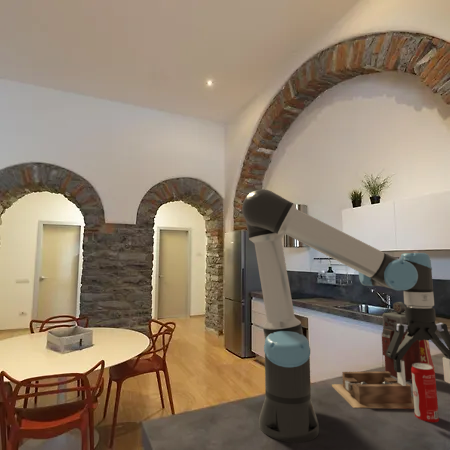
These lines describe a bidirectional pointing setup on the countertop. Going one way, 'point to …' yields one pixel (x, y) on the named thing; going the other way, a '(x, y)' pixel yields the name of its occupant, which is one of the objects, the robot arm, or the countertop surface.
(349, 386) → the plunger
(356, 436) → the countertop surface
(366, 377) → the holder
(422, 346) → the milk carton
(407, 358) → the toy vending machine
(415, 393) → the beverage can
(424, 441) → the countertop surface
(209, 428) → the countertop surface
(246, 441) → the countertop surface
